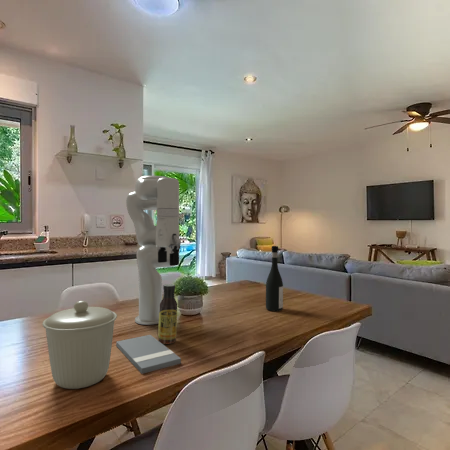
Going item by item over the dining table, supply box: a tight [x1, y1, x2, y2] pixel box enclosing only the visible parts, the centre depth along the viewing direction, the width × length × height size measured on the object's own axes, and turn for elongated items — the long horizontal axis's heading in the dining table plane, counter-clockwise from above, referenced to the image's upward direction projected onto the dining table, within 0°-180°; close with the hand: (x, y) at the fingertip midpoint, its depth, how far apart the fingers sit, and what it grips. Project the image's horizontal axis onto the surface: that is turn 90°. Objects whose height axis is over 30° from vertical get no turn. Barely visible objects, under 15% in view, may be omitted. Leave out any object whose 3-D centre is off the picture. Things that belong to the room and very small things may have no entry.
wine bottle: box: [265, 245, 284, 312], centre depth 157 cm, size 8×8×30 cm
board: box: [115, 334, 182, 375], centre depth 106 cm, size 24×12×2 cm, turn 34°
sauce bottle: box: [157, 283, 178, 345], centre depth 116 cm, size 7×6×20 cm
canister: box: [41, 300, 118, 390], centre depth 89 cm, size 18×18×21 cm
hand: (168, 263), depth 115 cm, fingers open, 9 cm apart
